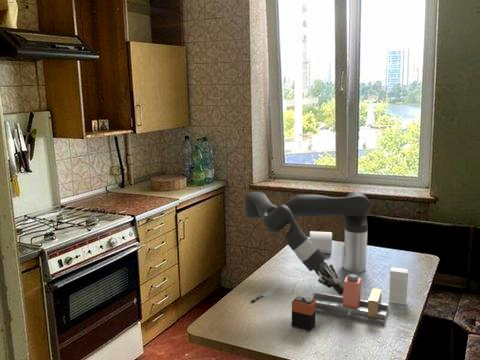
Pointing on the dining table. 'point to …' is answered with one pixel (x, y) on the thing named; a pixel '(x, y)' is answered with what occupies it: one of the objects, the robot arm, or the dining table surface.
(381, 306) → the rail
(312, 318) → the battery
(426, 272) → the dining table surface
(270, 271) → the dining table surface
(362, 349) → the dining table surface
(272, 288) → the chef's knife
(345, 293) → the pink dome-topped pillar
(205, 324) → the dining table surface
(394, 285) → the skincare box
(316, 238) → the toilet paper
